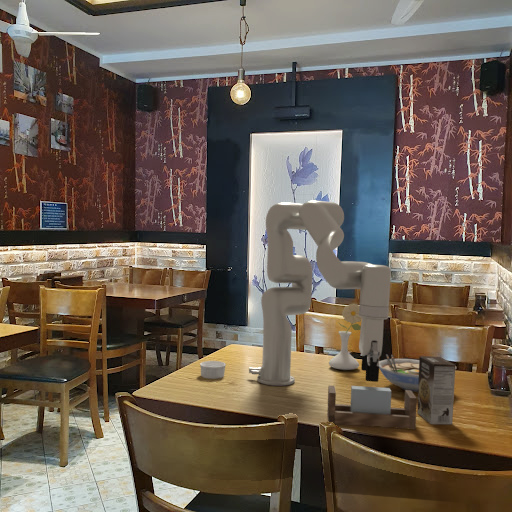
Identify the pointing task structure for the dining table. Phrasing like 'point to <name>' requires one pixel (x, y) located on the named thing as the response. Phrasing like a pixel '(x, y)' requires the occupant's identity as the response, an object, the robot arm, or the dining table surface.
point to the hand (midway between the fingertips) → (369, 375)
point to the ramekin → (212, 369)
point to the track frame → (394, 419)
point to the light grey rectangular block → (370, 400)
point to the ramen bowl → (401, 372)
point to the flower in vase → (344, 358)
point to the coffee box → (436, 389)
